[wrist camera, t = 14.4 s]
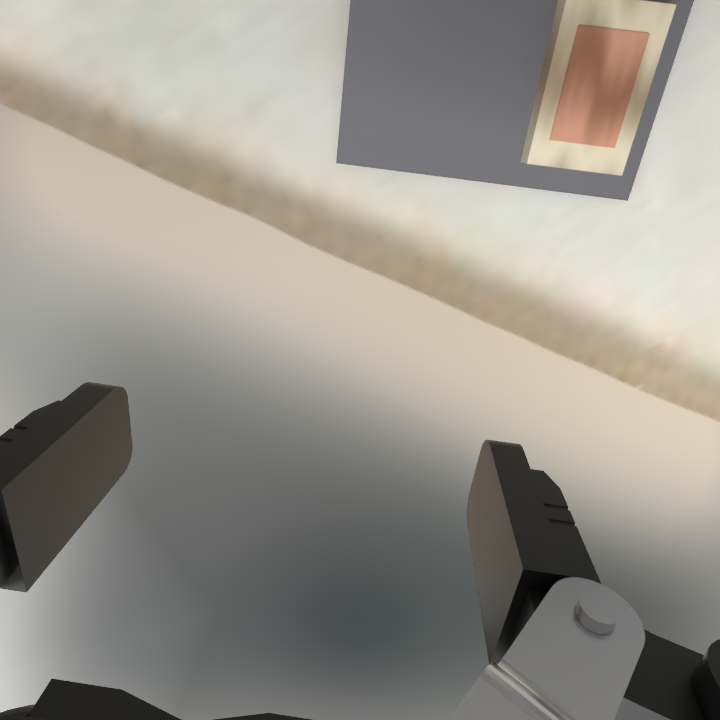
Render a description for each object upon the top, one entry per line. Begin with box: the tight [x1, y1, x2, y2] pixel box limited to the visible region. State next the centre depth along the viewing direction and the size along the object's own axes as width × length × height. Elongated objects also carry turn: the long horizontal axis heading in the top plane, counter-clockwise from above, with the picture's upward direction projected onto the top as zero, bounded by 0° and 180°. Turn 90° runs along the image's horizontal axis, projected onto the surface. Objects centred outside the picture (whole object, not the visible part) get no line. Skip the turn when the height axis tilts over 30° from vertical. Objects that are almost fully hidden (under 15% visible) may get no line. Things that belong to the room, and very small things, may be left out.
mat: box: [336, 0, 694, 201], centre depth 32 cm, size 20×12×1 cm, turn 83°
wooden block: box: [520, 0, 677, 176], centre depth 31 cm, size 9×2×6 cm
